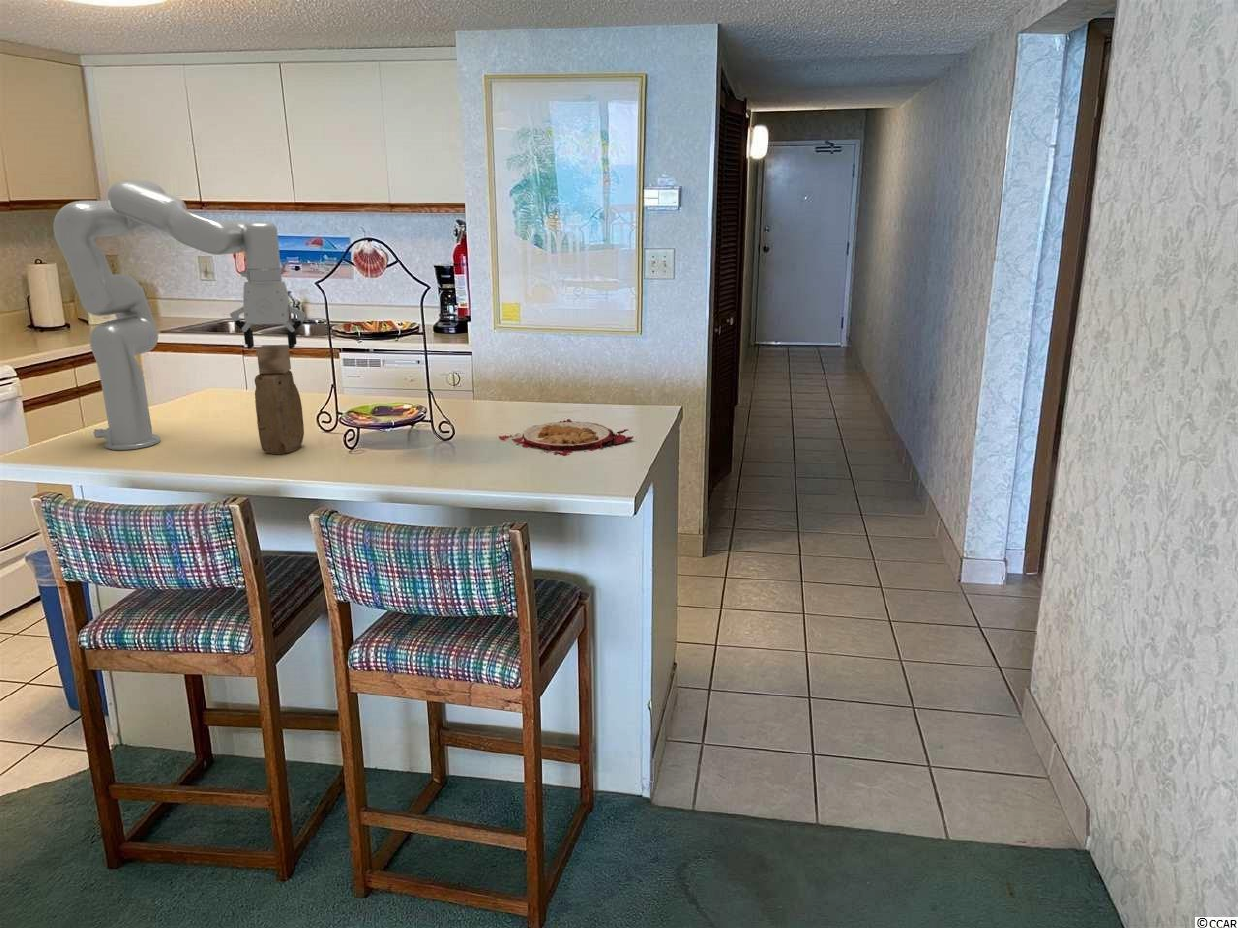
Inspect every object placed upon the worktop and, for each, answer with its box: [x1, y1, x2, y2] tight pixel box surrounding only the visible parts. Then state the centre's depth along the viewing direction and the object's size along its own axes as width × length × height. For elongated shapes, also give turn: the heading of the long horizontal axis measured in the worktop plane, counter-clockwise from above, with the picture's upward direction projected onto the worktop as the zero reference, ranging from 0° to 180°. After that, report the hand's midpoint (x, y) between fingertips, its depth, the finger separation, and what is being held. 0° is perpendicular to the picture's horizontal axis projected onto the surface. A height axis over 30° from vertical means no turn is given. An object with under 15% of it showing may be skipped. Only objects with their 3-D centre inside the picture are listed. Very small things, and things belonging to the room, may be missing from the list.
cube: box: [256, 344, 292, 375], centre depth 216 cm, size 6×6×6 cm
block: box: [254, 370, 305, 455], centre depth 220 cm, size 11×8×20 cm
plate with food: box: [498, 418, 635, 457], centre depth 232 cm, size 25×26×4 cm
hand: (271, 347), depth 216 cm, fingers open, 9 cm apart
